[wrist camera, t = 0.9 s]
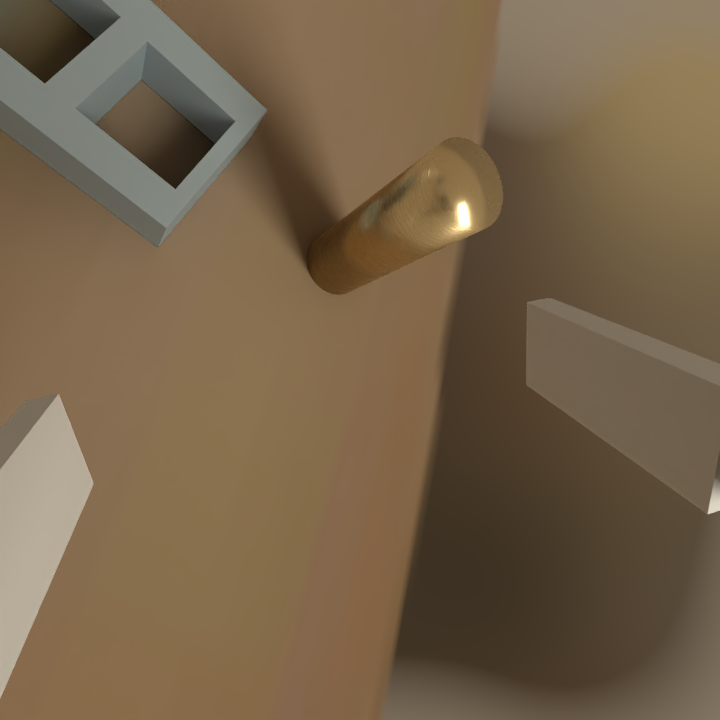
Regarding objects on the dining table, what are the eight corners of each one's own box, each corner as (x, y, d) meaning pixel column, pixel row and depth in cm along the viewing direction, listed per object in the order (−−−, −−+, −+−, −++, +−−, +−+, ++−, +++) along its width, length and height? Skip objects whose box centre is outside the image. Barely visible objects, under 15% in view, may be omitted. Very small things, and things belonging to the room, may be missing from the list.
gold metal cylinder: (295, 267, 34) (414, 182, 21) (327, 221, 35) (455, 118, 23) (343, 306, 35) (480, 249, 23) (372, 261, 37) (515, 184, 24)
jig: (-111, 45, 24) (-139, -8, 21) (33, -58, 28) (26, -117, 25) (158, 247, 29) (166, 227, 26) (250, 138, 33) (267, 110, 30)
